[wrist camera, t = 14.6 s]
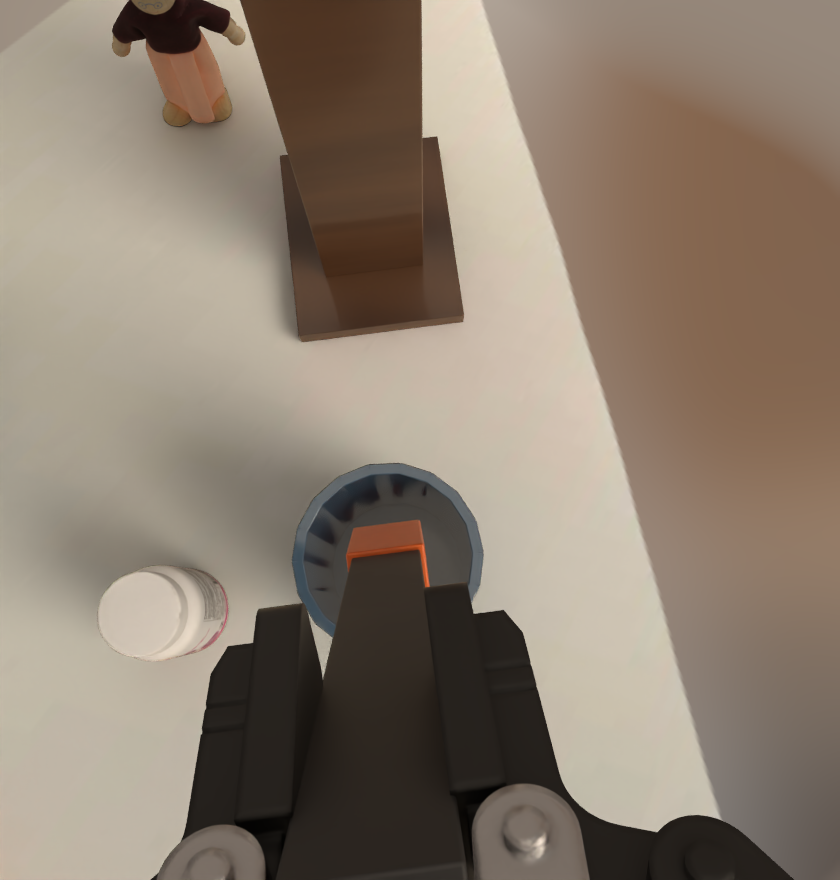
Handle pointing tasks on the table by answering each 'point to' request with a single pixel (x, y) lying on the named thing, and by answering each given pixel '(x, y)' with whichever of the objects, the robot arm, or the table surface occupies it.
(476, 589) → the pen cup
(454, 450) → the table surface
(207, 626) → the pill bottle
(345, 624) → the marker
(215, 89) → the grandmother figurine
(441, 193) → the pedestal
